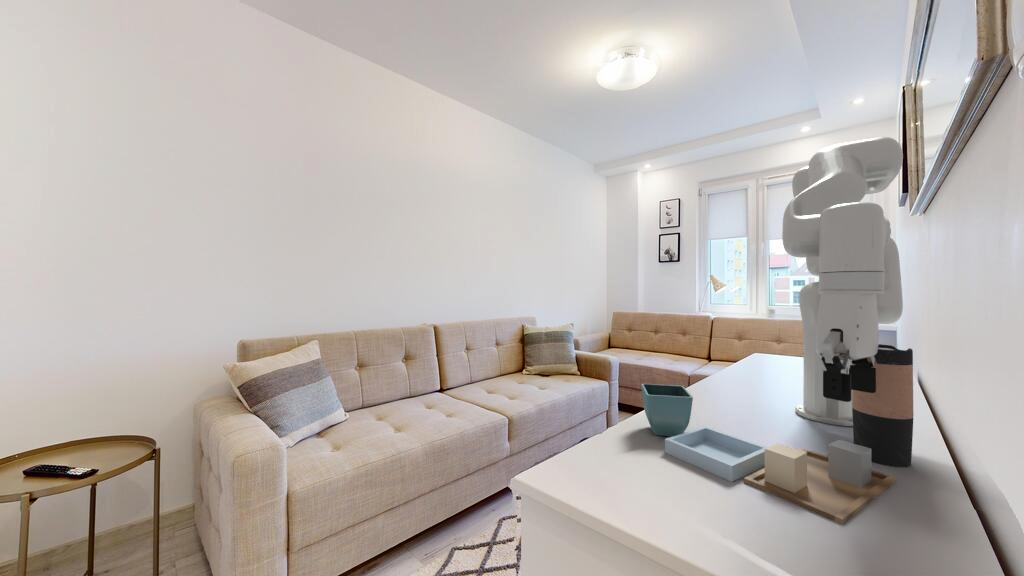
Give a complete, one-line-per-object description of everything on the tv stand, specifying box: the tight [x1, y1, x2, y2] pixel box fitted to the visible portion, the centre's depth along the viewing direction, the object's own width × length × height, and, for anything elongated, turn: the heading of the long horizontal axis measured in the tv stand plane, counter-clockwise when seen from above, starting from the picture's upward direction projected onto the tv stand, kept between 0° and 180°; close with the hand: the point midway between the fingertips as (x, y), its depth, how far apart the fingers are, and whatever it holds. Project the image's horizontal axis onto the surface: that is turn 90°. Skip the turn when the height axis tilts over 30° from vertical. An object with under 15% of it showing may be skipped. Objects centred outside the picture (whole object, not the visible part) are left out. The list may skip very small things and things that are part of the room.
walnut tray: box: [743, 448, 897, 525], centre depth 58 cm, size 20×12×1 cm, turn 121°
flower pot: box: [640, 383, 694, 437], centre depth 79 cm, size 9×9×9 cm
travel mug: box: [852, 343, 914, 469], centre depth 66 cm, size 8×8×20 cm
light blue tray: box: [664, 425, 767, 483], centre depth 66 cm, size 12×12×3 cm
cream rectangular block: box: [764, 442, 807, 493], centre depth 58 cm, size 4×4×5 cm
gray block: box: [827, 439, 872, 488], centre depth 59 cm, size 4×4×5 cm
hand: (850, 395), depth 58 cm, fingers open, 9 cm apart
